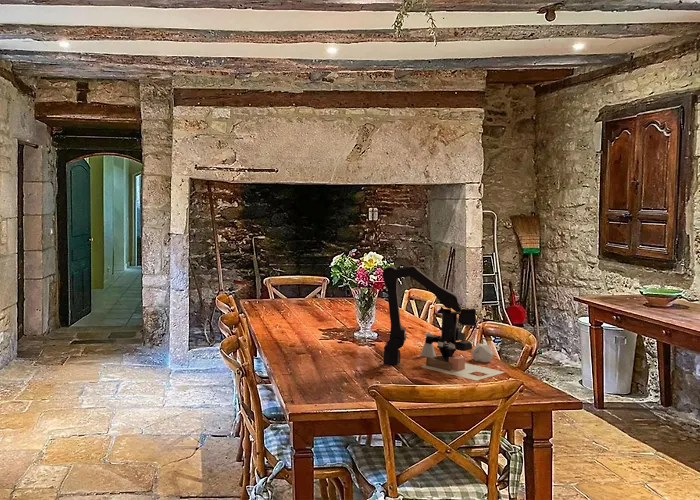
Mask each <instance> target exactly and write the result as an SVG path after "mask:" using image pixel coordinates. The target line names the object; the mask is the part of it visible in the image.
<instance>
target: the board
mask: <svg viewBox="0 0 700 500" xmlns="http://www.w3.org/2000/svg"><path fill="white" fill-rule="evenodd" d="M421 368H423V369H428V370H431V371H435V372H439V373H444V374H448V375H452V376H455V377H456V376H457V377H460V378H464V379H469V380H472V381H476V382H477V381H480V380H484V379H486V378H491V377H493V376H498V375H500V374H503V373H505V371H501V370H498V369H493V368H489V367H484V366H479V365H475V364H471V363H467V362H465V369H463V370H459V371H457V370H452V369H451V370H450V371H447V370H443V369H439V368H435V367H431V366H426V365H422V366H421ZM476 372H477V373H482V374H485V375H481V376H479V375H474V374H473V373H476Z"/></svg>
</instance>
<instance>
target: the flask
mask: <svg viewBox="0 0 700 500" xmlns="http://www.w3.org/2000/svg"><path fill="white" fill-rule="evenodd" d="M424 335H425V338H426V337H427V336H430V335H434V334H433V333H425V334H424ZM433 356H437V354H436V352H435V348H434V345H433V343H432V344H427V343H425V342H424V344H423V346H422V350H421V352H420V355H419V357H426V358H428V357H433Z"/></svg>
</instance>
